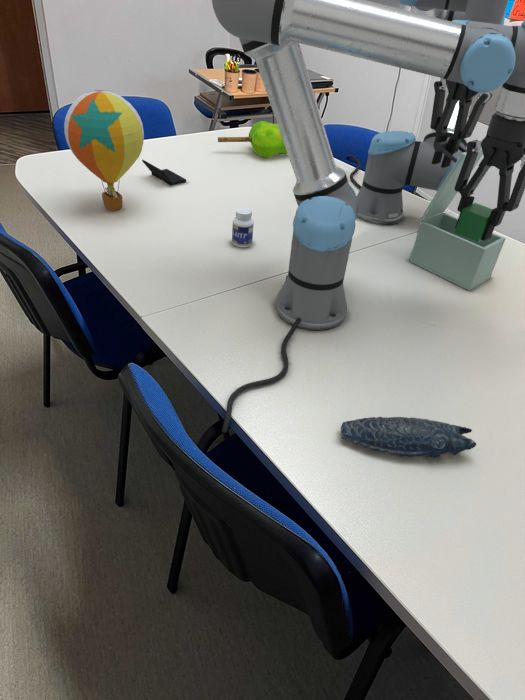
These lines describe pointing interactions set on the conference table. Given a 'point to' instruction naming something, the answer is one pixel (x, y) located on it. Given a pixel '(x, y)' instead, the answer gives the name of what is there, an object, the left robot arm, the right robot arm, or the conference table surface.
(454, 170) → the lid
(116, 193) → the toy
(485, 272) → the chest
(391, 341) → the conference table surface
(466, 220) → the block
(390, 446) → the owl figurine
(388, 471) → the conference table surface
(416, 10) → the right robot arm
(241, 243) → the pill bottle
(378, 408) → the conference table surface
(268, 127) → the decorative tree
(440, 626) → the conference table surface
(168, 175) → the black angular piece
